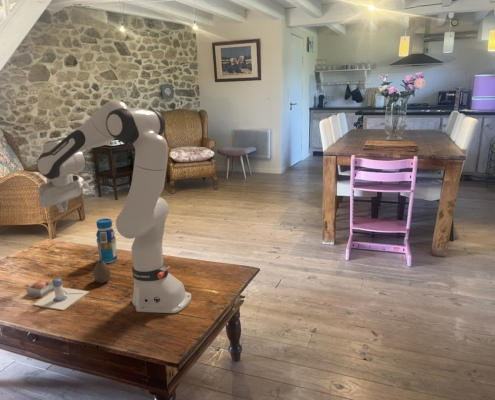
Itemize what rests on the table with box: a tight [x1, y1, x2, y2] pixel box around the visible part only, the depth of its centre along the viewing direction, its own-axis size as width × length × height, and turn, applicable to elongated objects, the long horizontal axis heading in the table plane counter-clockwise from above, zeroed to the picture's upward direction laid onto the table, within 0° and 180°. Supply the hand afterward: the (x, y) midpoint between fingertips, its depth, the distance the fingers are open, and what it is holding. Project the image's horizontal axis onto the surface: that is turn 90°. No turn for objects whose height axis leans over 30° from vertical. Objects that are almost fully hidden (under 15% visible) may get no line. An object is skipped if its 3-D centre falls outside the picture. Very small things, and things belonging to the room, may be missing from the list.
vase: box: [92, 260, 112, 284], centre depth 164 cm, size 7×7×9 cm
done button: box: [33, 280, 46, 289], centre depth 155 cm, size 4×4×3 cm
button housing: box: [25, 280, 54, 299], centre depth 156 cm, size 7×7×3 cm
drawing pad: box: [33, 287, 90, 312], centre depth 151 cm, size 14×14×1 cm
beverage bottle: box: [95, 218, 118, 264], centre depth 183 cm, size 8×8×20 cm
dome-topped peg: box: [51, 277, 64, 301], centre depth 149 cm, size 3×3×8 cm
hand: (63, 211), depth 163 cm, fingers closed
